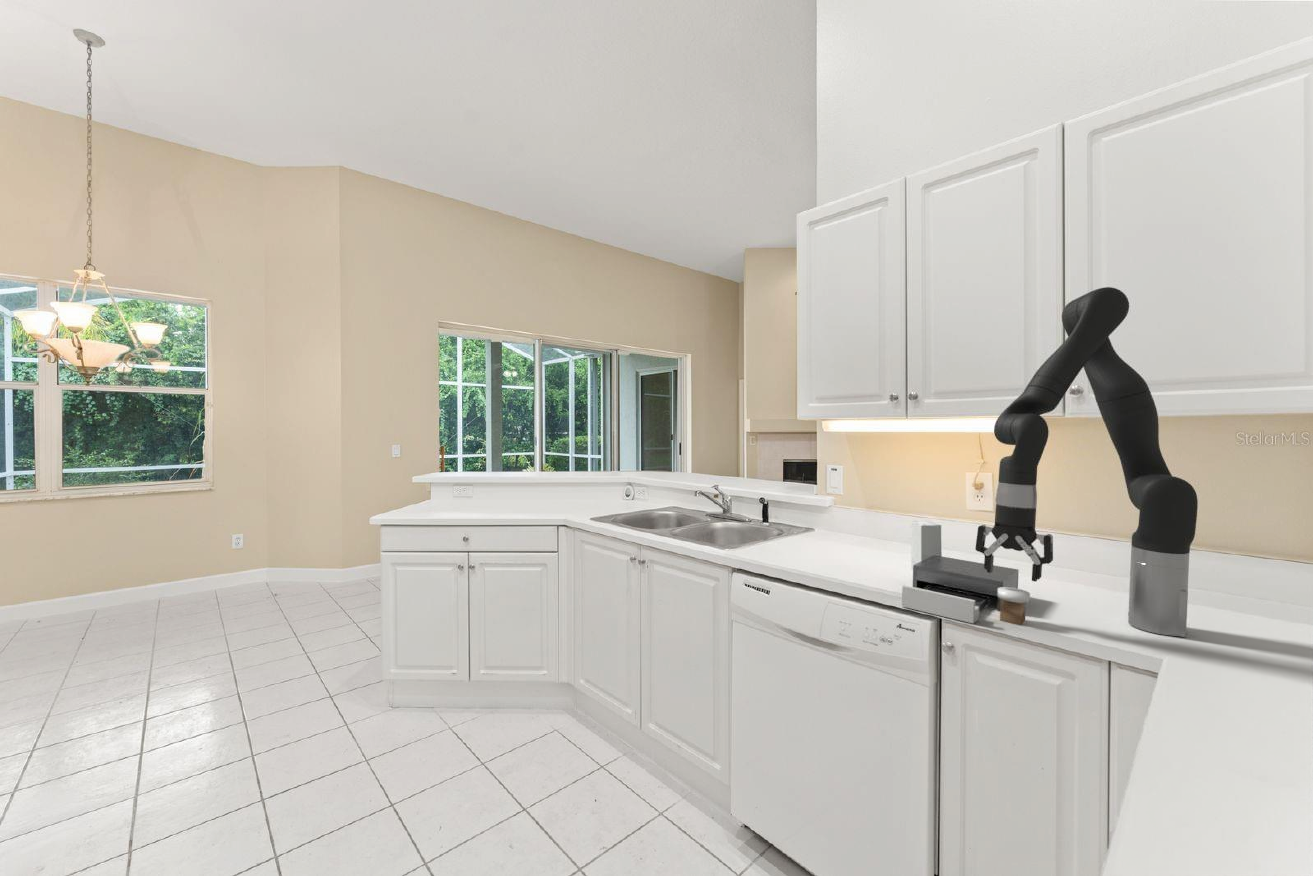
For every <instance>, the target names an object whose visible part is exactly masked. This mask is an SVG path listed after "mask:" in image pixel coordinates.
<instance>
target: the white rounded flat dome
mask: <svg viewBox="0 0 1313 876" xmlns="http://www.w3.org/2000/svg"><path fill="white" fill-rule="evenodd" d="M996 597H997V598H998V597H999V598H1001V599H1003V600H1006V601H1010V602H1017V603H1026V604H1027V603H1029V602H1030V601H1031V593H1030V592H1029V591H1027V590H1024V589H1021V588H1018V589H1017V588H1010V587H1000V588H998V594H997V596H996Z"/></svg>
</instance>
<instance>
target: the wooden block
mask: <svg viewBox="0 0 1313 876" xmlns="http://www.w3.org/2000/svg"><path fill="white" fill-rule="evenodd" d="M1026 605H1027V603H1017V602H1010V601H1006V600H1003V599H1001V604H1000V611H999V621H1001V622H1005V623H1010V624H1013V625H1018V626H1022V625H1023V624H1024V623H1025V622H1026V609H1027V607H1026Z"/></svg>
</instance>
